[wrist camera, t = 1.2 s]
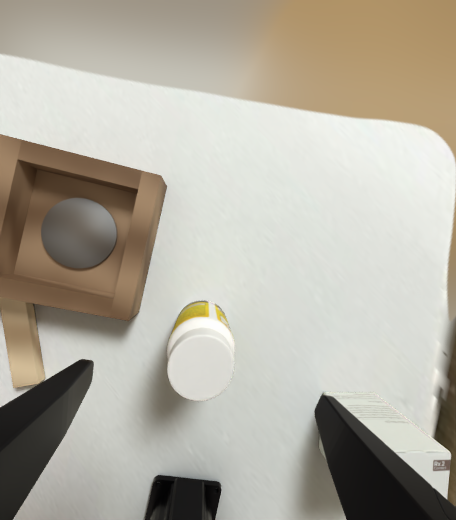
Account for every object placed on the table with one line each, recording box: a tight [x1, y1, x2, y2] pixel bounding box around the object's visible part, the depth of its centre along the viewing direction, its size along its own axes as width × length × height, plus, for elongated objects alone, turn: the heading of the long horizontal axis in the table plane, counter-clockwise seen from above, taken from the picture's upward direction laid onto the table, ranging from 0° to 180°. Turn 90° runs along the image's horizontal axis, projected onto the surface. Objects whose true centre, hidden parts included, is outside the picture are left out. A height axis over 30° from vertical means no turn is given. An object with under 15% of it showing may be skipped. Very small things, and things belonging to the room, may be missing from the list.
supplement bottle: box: [167, 300, 235, 401], centre depth 17 cm, size 5×5×8 cm
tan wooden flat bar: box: [0, 297, 45, 388], centre depth 19 cm, size 8×2×1 cm, turn 7°
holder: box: [0, 134, 167, 321], centre depth 19 cm, size 12×12×3 cm
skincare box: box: [319, 392, 451, 499], centre depth 20 cm, size 6×6×7 cm
